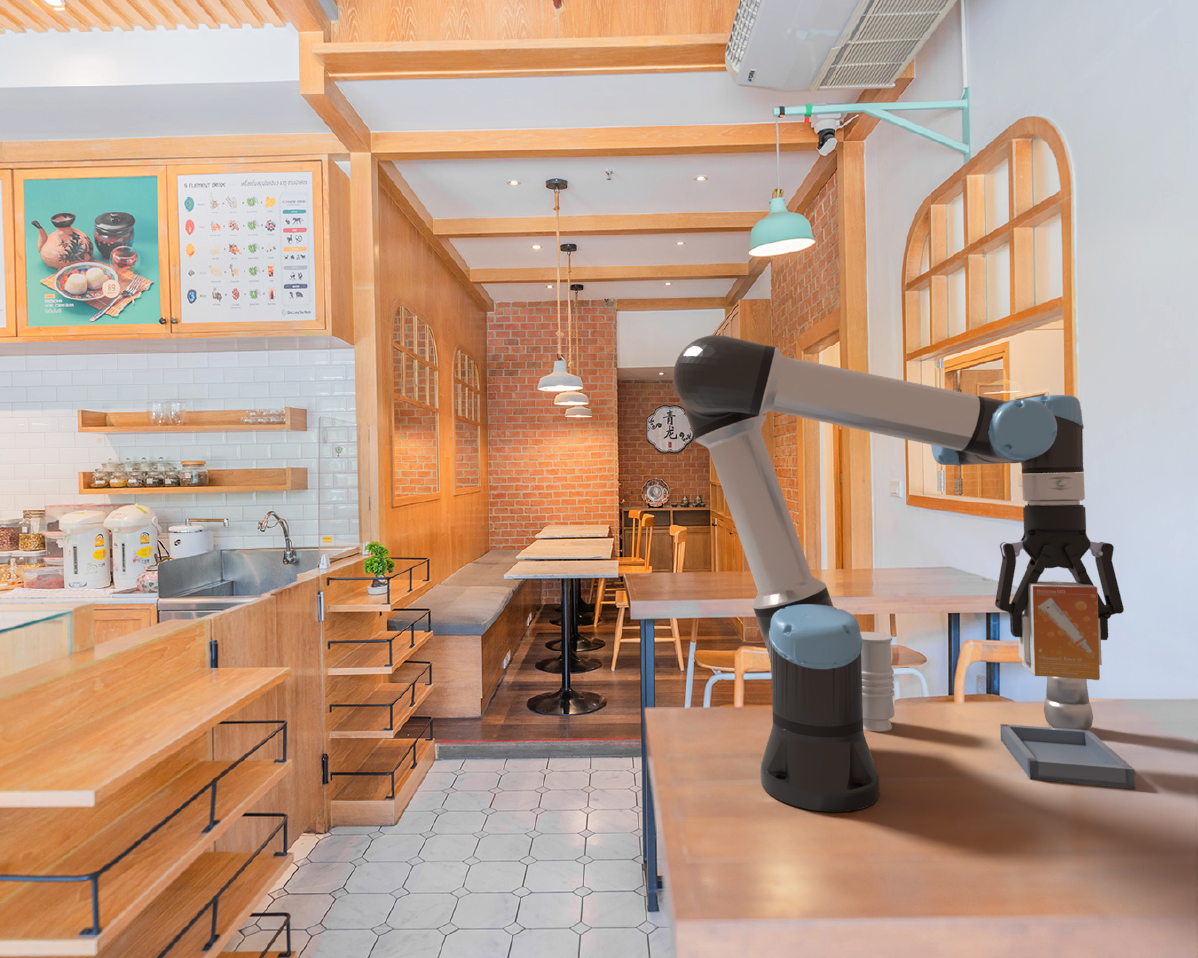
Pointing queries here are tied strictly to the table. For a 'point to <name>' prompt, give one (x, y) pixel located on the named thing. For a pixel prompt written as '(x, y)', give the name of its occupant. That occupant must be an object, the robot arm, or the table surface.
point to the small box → (1063, 630)
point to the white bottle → (877, 681)
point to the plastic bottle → (1068, 703)
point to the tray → (1066, 756)
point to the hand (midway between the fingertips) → (1059, 660)
